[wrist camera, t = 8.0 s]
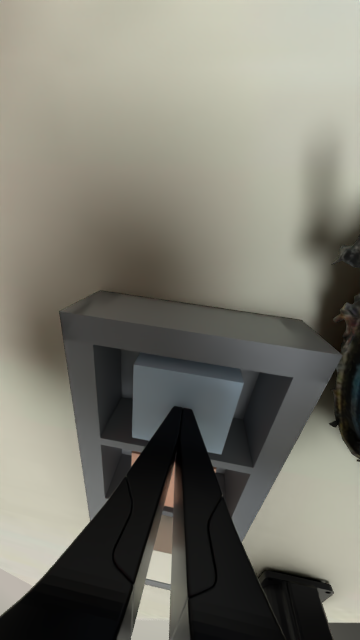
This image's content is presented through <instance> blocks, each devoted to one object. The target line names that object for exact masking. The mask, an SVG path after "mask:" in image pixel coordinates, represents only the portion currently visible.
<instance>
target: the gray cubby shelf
mask: <svg viewBox="0 0 360 640" xmlns="http://www.w3.org/2000/svg"><path fill="white" fill-rule="evenodd" d="M59 314H60V320H61V327H62V334H63V341H64V347H65V354H66V361H67V368H68V374H69V381H70V388H71V395H72V401H73V408H74V415H75V422H76V428H77V435H78V442H79V449H80V456H81V462H82V469H83V476H84V483H85V489H86V496H87V503H88V510H89V516H90V521H91V520H92V519H93V518H94V516H95V515H96V514H97V513H98V512H99V510H100V509H101V508H102V507H103V505H104V504H105V503H106V502H107V500H108V499H109V497H110V496H111V495H112V493H113V492H114V491H115V489H116V488H117V487H118V485H119V484H120V482H121V481H122V479H123V478H124V477H125V476H126V474H127V472H128V471H129V469H130V468H131V462H132V451H136V452H142V451H143V449H144V448H145V446H146V445H147V444H148V442H149V441H148V440H143V439H138V438H133V437H132V415H133V367H134V363H135V361H136V359H137V357H138V356H139V354H140V352H141V353H147V354H153V355H159V356H165V357H171V358H177V359H183V360H189V361H196V362H202V363H208V364H214V365H220V366H226V367H232V368H238V369H240V370H241V374H242V378H243V382H244V384H243V388H242V391H241V394H240V397H239V400H238V403H237V407H236V410H235V413H234V416H233V419H232V422H231V426H230V429H229V432H228V435H227V438H226V441H225V444H224V448H223V451H222V454H216V453H210V452H208V455H209V457H210V460H211V463H212V466H213V467H216V468H217V470H216V473H215V474H216V477H217V480H218V482H219V485H220V488H221V491H222V494H223V496H222V497H224V499H225V502H226V505H227V507H228V510H229V513H230V515H231V518H232V521H233V523H234V526H235V528H236V531H237V533H238V535H239V538H240V540H241V542H242V541H243V539H244V537H245V535H246V533H247V532H248V530H249V528H250V526H251V524H252V522H253V520H254V519H255V517H256V515H257V513H258V511H259V509H260V508H261V506H262V504H263V502H264V500H265V498H266V496H267V495H268V493H269V491H270V489H271V487H272V485H273V483H274V482H275V480H276V478H277V476H278V474H279V472H280V470H281V469H282V467H283V465H284V463H285V461H286V459H287V458H288V456H289V454H290V452H291V450H292V448H293V446H294V445H295V443H296V441H297V439H298V437H299V435H300V433H301V432H302V430H303V428H304V426H305V424H306V422H307V420H308V419H309V417H310V415H311V413H312V411H313V409H314V408H315V406H316V404H317V402H318V400H319V398H320V396H321V395H322V393H323V391H324V389H325V387H326V385H327V383H328V382H329V380H330V378H331V376H332V374H333V372H334V370H335V369H336V367H337V365H338V363H339V361H340V359H341V358H342V356H343V355H342V354H340V353H339V352H338V351H337V350H336V349H335V348H333V347H332V346H331V345H330V344H329V343H328V342H326V341H325V340H324V339H323V338H322V337H321V336H320V335H318V334H317V333H316V332H315V331H314V330H313V329H311V328H310V327H309V326H308V325H307V324H306V323H304V322H303V321H302V320H297V319H290V318H283V317H276V316H269V315H263V314H256V313H249V312H242V311H235V310H229V309H222V308H215V307H208V306H201V305H195V304H188V303H181V302H174V301H167V300H160V299H154V298H147V297H140V296H133V295H126V294H120V293H113V292H106V291H98V292H96V293H94V294H92V295H90V296H88V297H86V298H84V299H82V300H80V301H78V302H76V303H74V304H72V305H70V306H69V307H67V308H65V309H63V310H61V311H59ZM175 459H176V457H175ZM162 515H165V516H170V517H173V507H168V506H164V508H163V512H162ZM145 584H146V585H150V586H154V587H158V588H162V589H166V590H171V584H167V583H163V582H159V581H154V580H150V579H146V580H145Z"/></svg>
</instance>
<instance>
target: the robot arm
mask: <svg viewBox="0 0 360 640" xmlns="http://www.w3.org/2000/svg"><path fill="white" fill-rule="evenodd" d="M175 457H176V459H175ZM174 463H175V473H174V503H173V533H172V563H171V593H170V624H169V640H334V639H333V636H332V633H331V629H330V627H329V623H328V620H327V617H326V614H325V611H324V608H323V604H322V602H324V601H325V600H326V599H327V598H329V597H330V596H331V595H332V594H334V592H333V589H332V587H331V585H329V584H326V583H321V582H317V581H312V580H308V579H304V578H299V577H295V576H290V575H286V574H281V573H277V572H273V571H264V572H263V574H262V575H261V576H260V578H259V579H258V578H257V576H256V574H255V571H254V569H253V567H252V565H251V563H250V560H249V558H248V556H247V554H246V552H245V549H244V547H243V545H242V542H241V540H240V538H239V535H238V533H237V531H236V528H235V526H234V523H233V521H232V518H231V515H230V513H229V510H228V507H227V505H226V502H225V499H224V497H222V496H223V494H222V491H221V488H220V485H219V482H218V480H217V477H216V474H215V471H214V469H213V466H212V463H211V460H210V457H209V455H208V452H207V449H206V446H205V443H204V441H203V438H202V435H201V432H200V429H199V427H198V424H197V421H196V418H195V415H194V413H193V410H192V409H189V408H182V407H178V406H174V407H173V408H172V409H171V410H170V412H169V413H168V415H167V416H166V418H165V419H164V421H163V422H162V423H161V425H160V426H159V428H158V429H157V431H156V432H155V433H154V435H153V436H152V438H151V439H150V441H149V442H148V444H147V445H146V446H145V448H144V449H143V451H142V452H141V454H140V455H139V457H138V458H137V459H136V461H135V462H134V464H133V465H132V467H131V468H130V469H129V471H128V472H127V474H126V476H125V477H124V478H123V479H122V481H121V482H120V484H119V485H118V487H117V488H116V489H115V491H114V492H113V493H112V495H111V496H110V497H109V499H108V500H107V502H106V503H105V504H104V505H103V507H102V508H101V509H100V510H99V512H98V513H97V514H96V515H95V516H94V518H93V519H92V520H91V521H90V522H89V524H88V525H87V526H86V527H85V528H84V530H83V531H82V532H81V533H80V534H79V535H78V537H77V538H76V539H75V540H74V541H73V542H72V544H71V545H70V546H69V547H68V548H67V549H66V551H65V552H64V553H63V554H62V555H61V557H60V558H59V559H58V560H57V561H56V562H55V564H54V565H53V566H52V567H51V568H50V569H49V570H48V572H47V573H46V574H45V575H44V576H43V577H42V578H41V579H40V580H39V581H38V582H37V583H36V584H35V585H34V586H33V587H32V588H31V589H30V591H28V593H26V594H25V595H24V596H23V597H22V598H21V599H20V600H19V601H17V602H16V603H15V604H14V605H13V606H12V607H10V608H9V609H8V610H7V611H6V612H4V613H3V614H2V615H1V616H0V640H131V635H132V632H133V628H134V624H135V620H136V616H137V612H138V608H139V604H140V600H141V596H142V592H143V588H144V584H145V580H146V576H147V572H148V568H149V564H150V560H151V556H152V552H153V548H154V544H155V540H156V536H157V532H158V528H159V524H160V520H161V516H162V512H163V508H164V504H165V500H166V496H167V492H168V488H169V484H170V480H171V476H172V472H173V468H174Z"/></svg>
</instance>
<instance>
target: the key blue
mask: <svg viewBox="0 0 360 640" xmlns="http://www.w3.org/2000/svg"><path fill="white" fill-rule="evenodd" d="M243 384H244V382H243V378H242V374H241V370H240V369H238V368H232V367H226V366H220V365H214V364H208V363H202V362H196V361H189V360H183V359H177V358H171V357H165V356H159V355H153V354H147V353H141V352H140V354H139V356H138V357H137V359H136V361H135V363H134V367H133V415H132V437H133V438H138V439H143V440H148V441H150V439H151V438H152V436H153V435H154V433H155V432H156V431H157V429H158V428H159V426H160V425H161V423H162V422H163V421H164V419H165V418H166V416H167V415H168V413H169V412H170V410H171V409H172V408H173V407H174V406H178V407H182V408H189V409H192V410H193V413H194V415H195V418H196V421H197V424H198V427H199V429H200V432H201V435H202V438H203V441H204V443H205V446H206V449H207V452H210V453H216V454H222V451H223V448H224V444H225V441H226V438H227V435H228V432H229V429H230V426H231V422H232V419H233V416H234V413H235V410H236V407H237V403H238V400H239V397H240V394H241V391H242V388H243Z"/></svg>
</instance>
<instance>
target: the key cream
mask: <svg viewBox="0 0 360 640" xmlns="http://www.w3.org/2000/svg"><path fill="white" fill-rule="evenodd" d="M172 533H173V517H170V516H165V515H162V516H161V520H160V524H159V528H158V532H157V536H156V540H155V544H154V548H153V552H152V556H151V560H150V564H149V568H148V572H147V576H146V579H150V580H154V581H159V582H163V583H167V584H171V563H172Z"/></svg>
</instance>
